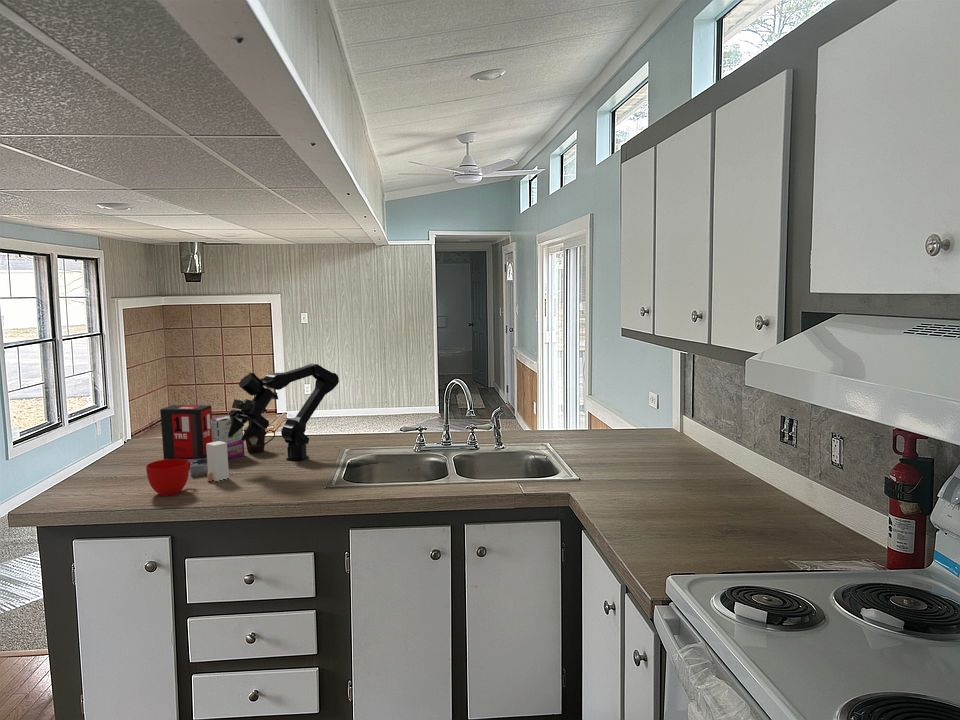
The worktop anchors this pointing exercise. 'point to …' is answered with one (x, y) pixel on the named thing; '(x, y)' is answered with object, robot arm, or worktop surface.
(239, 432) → the candy bar box
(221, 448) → the keyed peg
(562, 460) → the worktop surface
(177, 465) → the ceramic cup
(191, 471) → the keyed socket block
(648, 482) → the worktop surface
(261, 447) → the coffee mug
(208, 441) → the cleaning product box
